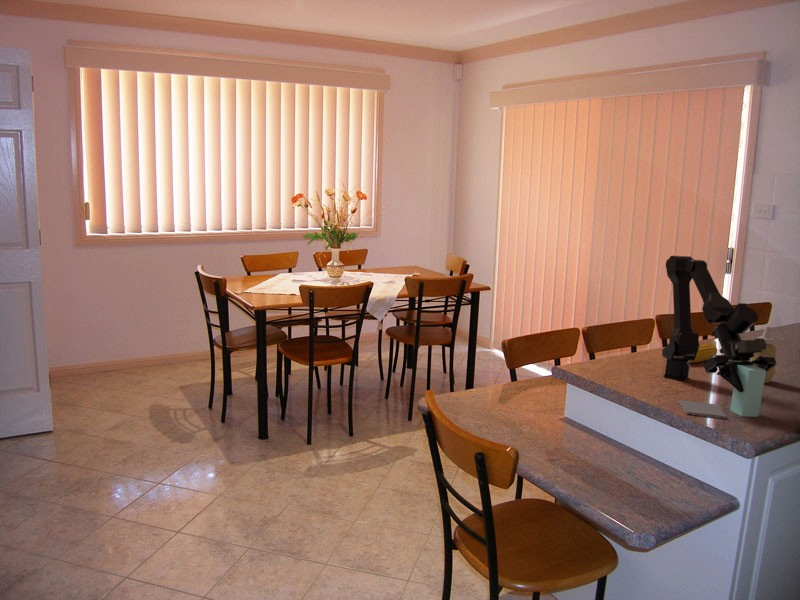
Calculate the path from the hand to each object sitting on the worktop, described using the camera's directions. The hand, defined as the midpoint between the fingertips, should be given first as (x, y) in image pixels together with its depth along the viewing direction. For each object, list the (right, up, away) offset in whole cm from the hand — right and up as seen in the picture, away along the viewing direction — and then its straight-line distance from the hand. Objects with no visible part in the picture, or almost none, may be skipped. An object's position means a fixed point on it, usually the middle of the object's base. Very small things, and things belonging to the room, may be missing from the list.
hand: (751, 391), depth 181 cm
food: (+10, +3, +57) cm, 58 cm away
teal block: (-1, -6, +3) cm, 7 cm away
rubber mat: (-12, -6, +3) cm, 14 cm away
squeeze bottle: (+22, -2, +37) cm, 43 cm away
